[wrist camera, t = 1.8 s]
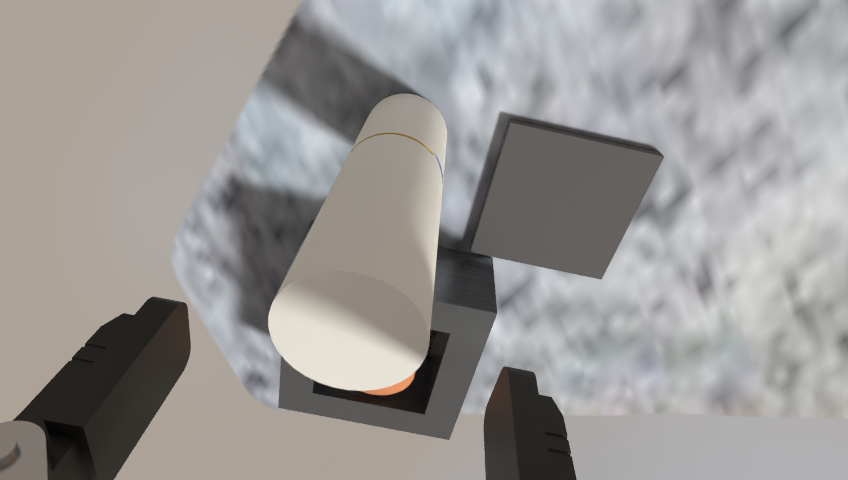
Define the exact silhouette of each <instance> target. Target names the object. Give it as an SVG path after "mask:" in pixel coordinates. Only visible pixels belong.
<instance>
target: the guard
mask: <svg viewBox="0 0 848 480" xmlns="http://www.w3.org/2000/svg"><path fill="white" fill-rule="evenodd" d="M313 223H314V221H312V222H311V224H310V226H309V228H308V230H307V232H306V234H305V235H304V237H303V239H302V241H301V243H300V245H299V247H298V249H297V251H296V253H295V255H294V257H293V258H292V260H291V262H290V264H289V266H288V268H287V270H286V275H287V273H288V271H289V269H290V268H291V266H292V264H293V262H294V260H295V258H296V256H297V254H298V252H299V250H300V248H301V246H302V244H303V242H304V240H305V238H306V236H307V235H308V233H309V231H310V229H311V227H312V225H313ZM496 315H497V306H496V294H495V283H494V271H493V259H492V258H489V257H484V256H479V255H474V254H470V253H465V252H460V251H455V250H450V249H446V248H441V247H437V258H436V270H435V282H434V293H433V305H432V317H431V330H436V335H435V338H434V342H433V345H432V348H431V352H430V355H429V354H427V355H426V357H425V359H424V361H423V362H422V364H421V366H420V367H419V368H418V369H417V370H416V371H415V375H414V379H413V381H412V382H411V384H410V385H409V386H408V387H407V388H405V389H404V390H402V391H400V392H397V393H394V394H390V395H373V394H368V393H365V392H362V391H357V390H345V389H340V388H334V387H331V386H328V385H325V384H322V383H319V382H317V381H315V380H313V379H310V378H308V377H306V376H305V375H303V374H302V373H300V372H299V371H297V370H296V369H294V368H293V367H292V366H291V365H290V364H289V363H288V362H287V361H285V359H284V358H283V357H282V356H281V371H280V389H279V407H278V408H283V409H288V410H293V411H299V412H304V413H310V414H315V415H320V416H326V417H331V418H336V419H342V420H346V421H352V422H357V423H363V424H368V425H373V426H378V427H384V428H390V429H394V430H400V431H405V432H410V433H416V434H421V435H426V436H432V437H437V438H442V439H447V440H449V439H450V436H451V433H452V431H453V428H454V425H455V423H456V420H457V418H458V415H459V412H460V410H461V407H462V405H463V402H464V399H465V397H466V394H467V391H468V389H469V386H470V383H471V381H472V378H473V376H474V373H475V370H476V368H477V365H478V362H479V360H480V357H481V355H482V352H483V349H484V347H485V344H486V341H487V339H488V336H489V333H490V331H491V328H492V326H493V323H494V320H495V318H496Z"/></svg>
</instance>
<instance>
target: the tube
mask: <svg viewBox="0 0 848 480" xmlns="http://www.w3.org/2000/svg"><path fill="white" fill-rule="evenodd" d="M446 141H447V129H446V124H445V121H444V119H443V117H442V115H441V113H440V112H439V110H438V109H437V108H436V107H435V106H434V105H433V104H432V103H431V102H429V101H428V100H426V99H425V98H422V97H420V96H418V95H413V94H401V93H400V94H395V95H391V96H389V97H387V98H384V99H383V100H382V101H380V102H379V103H378V104H377V105H376V106H375V107H374V108H373V109H372V111H371V113H370V114H369V116H368V118H367V120H366V122H365V124H364V126H363V128H362V130H361V132H360V134H359V135H358V137H357V139H356V141H355V143H354V145H353V147H352V149H351V151H350V153H349V155H348V157H347V159H346V161H345V163H344V165H343V167H342V169H341V170H340V172H339V174H338V176H337V178H336V180H335V182H334V184H333V186H332V188H331V190H330V192H329V194H328V196H327V198H326V200H325V202H324V203H323V205H322V207H321V209H320V211H319V213H318V215H317V217H316V219H315V221H314V223H313V225H312V227H311V229H310V231H309V233H308V235H307V236H306V238H305V240H304V242H303V244H302V246H301V248H300V250H299V252H298V254H297V256H296V258H295V260H294V262H293V264H292V266H291V268H290V269H289V271H288V273H287V275H286V277H285V279H284V281H283V283H282V285H281V287H280V289H279V291H278V293H277V295H276V297H275V299H274V301H273V302H272V305H271V308H270V312H269V316H268V328H269V332H270V336H271V339H272V341H273V343H274V345H275V347H276V349H277V351H278V352H279V353H280V354H281V356H282V357H283V358H284V359H285V361H287V362H288V363H289V364H290V365H291V366H292V367H293V368H294V369H296V370H297V371H299V372H300V373H302V374H303V375H305V376H306V377H308V378H310V379H313V380H315V381H317V382H319V383H322V384H325V385H328V386H331V387H334V388H340V389H345V390H357V391H367V390H377V389H382V388H386V387H389V386H392V385H395V384H397V383H399V382H402V381H403V380H405V379H406V378H408V377H409V376H411V375H412V374H413V373H414V372H415V371H416V370H417V369H418V368H419V367H420V366H421V364H422V362H423V361H424V359H425V357H426V355H427V351H428V347H429V340H430V329H431V317H432V305H433V293H434V282H435V270H436V258H437V247H438V235H439V223H440V211H441V200H442V187H443V176H444V165H445V153H446Z"/></svg>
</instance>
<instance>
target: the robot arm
mask: <svg viewBox="0 0 848 480" xmlns="http://www.w3.org/2000/svg"><path fill="white" fill-rule="evenodd" d="M190 349H191V345H190V332H189V319H188V308H187V305H186V303H184V302H179V301H174V300H169V299H163V298H158V297H151V298H149V299H148V300H147V301H146V302H145V303H144V305H143V306H142V307H141V308H140V309H139V310H138V311H137V313H136V314H135V315H130V314H125V313H123V314H121V315H120V316H118V317H116V318H115V319H113V320H111V321H109V322H108V323H106V324H104V325H103V326H101V327H100V328H99V329H98V330H97V331H96V333H95V334H94V335H93V336H92V337H91V338H90V339H89V340H88V341H87V342H86V344H85V347H82V348H81V349H80V350H79V351H78V352H77V353H76V354H75V355H74V356H73V357H72V360H71V361H69V362H68V363H67V364H66V365H65V366H64V367H63V368H62V369H61V370H60V371H59V372H58V373H57V374H56V376H55V377H54V378H53V379H52V380H51V381H50V382H49V383H48V384H47V385H46V386H45V387H44V389H43V390H42V391H41V392H40V393H39V394H38V395H37V396H36V397H35V398H34V399H33V400H32V401H31V403H30V404H29V405H28V406H27V407H26V408H25V409H24V410H23V411H22V412H21V413H20V414H19V415H18V416H17V417H16V418H15V419H14V420H13V421H9V422H4V423H0V480H113V479H114V478H115V477H116V475H117V473H118V472H119V470H120V469H121V467H122V466H123V464H124V463H125V461H126V460H127V458H128V456H129V455H130V453H131V452H132V450H133V449H134V447H135V446H136V444H137V442H138V441H139V439H140V438H141V436H142V434H143V433H144V432H145V430H146V428H147V427H148V425H149V424H150V422H151V421H152V419H153V418H154V416H155V414H156V413H157V411H158V410H159V408H160V407H161V405H162V404H163V402H164V400H165V399H166V397H167V396H168V394H169V393H170V391H171V389H172V388H173V386H174V385H175V383H176V382H177V380H178V379H179V377H180V376H181V374H182V372H183V371H184V369H185V367H186V364H187V362H188V359H189V355H190ZM484 447H485V469H486V480H576V475H575V470H574V466H573V461H572V457H571V456H570V453H571V451H570V446H569V442H568V440H567V432H566V428H565V423H564V418H563V415H562V413H561V412H560V410H559V409H558V407H557V405H556V404H555V402H554V401H553V399H552V397H548V396H543V395H539V393H538V387H537V381H536V376H535V374H534V372H531V371H526V370H521V369H516V368H510V367H503V369H502V370H501V373H500V375H499V377H498V380H497V382H496V385H495V387H494V390H493V392H492V394H491V397H490V399H489V402H488V404H487V407H486V412H485V418H484Z"/></svg>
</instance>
